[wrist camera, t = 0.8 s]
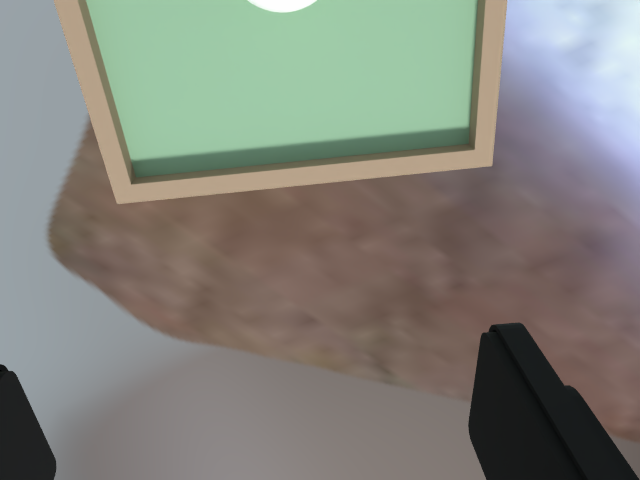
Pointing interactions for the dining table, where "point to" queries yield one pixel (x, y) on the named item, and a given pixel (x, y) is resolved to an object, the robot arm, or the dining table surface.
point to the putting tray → (284, 90)
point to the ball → (282, 5)
